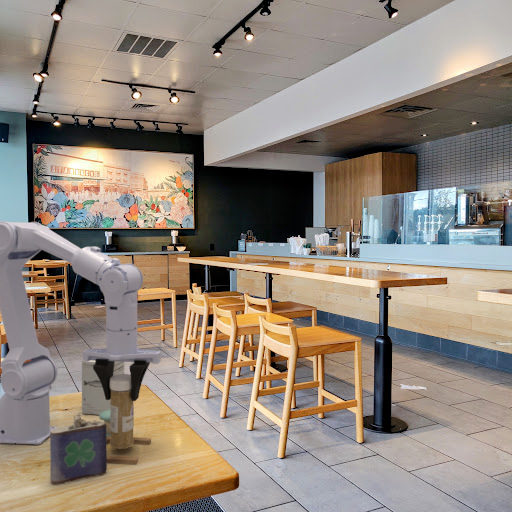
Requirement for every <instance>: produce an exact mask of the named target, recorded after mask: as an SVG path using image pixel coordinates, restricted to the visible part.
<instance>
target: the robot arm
mask: <svg viewBox="0 0 512 512" xmlns="http://www.w3.org/2000/svg"><path fill="white" fill-rule="evenodd" d="M41 251H44V252H45V253H48V254H51V255H52V256H55V257H57V258H59V259H62V260H63V261H65V262H67V263H69V264H71V267H72V270H73V272H74V273H75V274H77V275H79V276H81V277H82V278H84V279H86V280H88V281H90V282H92V283H93V284H95V285H97V286H99V289H100V291H101V293H102V294H103V295H104V303H105V315H106V316H105V317H106V319H105V320H106V321H105V323H106V324H105V325H106V326H105V333H106V334H105V336H106V337H105V341H106V342H105V343H106V344H105V347H106V348H87V349H85V350H83V351H82V360H83V361H90V360H92V361H95V365H93V370H94V371H95V373H96V374H97V376H98V378H99V380H100V382H101V385H102V387H103V391H104V394H105V399H106V400H110V399H111V390H110V378H111V377H112V376H113V372H114V363H115V361H123V362H124V363H125V362H131V363H132V364H130V365H129V372H130V374H129V375H131V383H132V389H131V399H132V401H133V402H136V401H137V400H138V399H139V396H140V390H141V386H142V382H143V380H144V377H145V374H146V372H147V370H148V369H149V366H150V363H152V364H155V365H156V364H159V363H160V362H161V361H162V360H161V359H162V356H161V353H162V351H160V350H149V349H143V348H138V292H139V291H140V289H141V288H142V286H143V283H144V277H143V276H144V275H143V272H142V271H141V270H140V268H139V267H137V266H136V265H135V264H134V263H124V264H122V262H121V260H120V259H119V258H117V257H113V258H112V257H110V256H108V255H106V253H105V254H104V252H103V253H102V252H101V248H100V247H99V246H85V247H83V248H80V246H77V245H76V244H74V243H72V242H70V241H69V240H68V239H66V238H64V236H61V235H59V234H58V233H56V232H54V231H53V230H51V229H50V228H49V226H46V225H42V224H41V223H39V222H37V221H31V222H24V221H23V222H21V221H20V222H18V221H17V222H16V221H13V222H11V221H5V220H1V221H0V314H1V320H2V324H3V329H4V332H5V337H6V341H7V346H8V349H9V351H8V353H7V354H6V355H5V357H4V358H3V360H2V361H1V362H0V368H1V379H0V384H1V389H2V391H3V392H4V394H3V395H1V396H0V444H15V443H16V445H18V444H19V445H22V444H23V445H41V444H42V443H43V442H45V441H47V439H48V438H50V432H51V431H52V430H53V429H56V428H59V426H51V424H50V420H51V419H50V417H51V415H50V412H51V411H50V391H51V390H52V385H53V384H54V383H55V382H56V380H57V376H58V368H57V365H56V363H55V362H54V360H53V359H52V356H51V354H50V351H49V349H48V348H47V347H45V346H44V345H41V344H40V343H39V340H38V336H37V331H36V328H35V327H36V326H35V323H34V319H33V314H32V310H31V306H30V301H29V297H28V292H27V288H26V285H25V281H24V277H23V276H24V275H23V272H22V270H23V268H24V267H25V265H26V264H27V263H28V262H30V260H31V259H32V258H34V257H35V256H36V255H37V254H39V253H40V252H41Z"/></svg>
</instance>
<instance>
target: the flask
mask: <svg viewBox="0 0 512 512" xmlns="http://www.w3.org/2000/svg"><path fill="white" fill-rule="evenodd" d="M73 418H74V419H73V424H70V425H66V426H62V427H61V426H60V427H58V428H56V429H53V430H52V431H51V432H50V436H49V438H50V439H49V440H50V441H49V443H50V444H49V447H50V461H49V462H50V463H49V464H50V480H49V481H50V483H51V485H64V484H65V483H70V482H78V481H80V480H83V479H90V478H95V477H98V476H99V477H100V476H103V475H105V474H107V468H108V463H107V456H108V455H107V453H108V452H107V451H108V450H107V445H106V443H107V442H106V435H107V434H106V428H107V427H106V424H105V422H104V421H103V420H96V419H93V420H88V421H86V420H84V419H83V418H82V413H78V414H76V415H73Z"/></svg>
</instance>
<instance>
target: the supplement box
mask: <svg viewBox="0 0 512 512" xmlns="http://www.w3.org/2000/svg"><path fill="white" fill-rule="evenodd" d="M93 365H95V361H92V360H90V361H83V359H82V361H81V415H85V414H86V415H87V414H88V415H97V416H99V414H100V413H101V412H103V411H106V410H110V403H111V399H110V400H106V399H105V394H104V391H103V387H102V385H101V382H100V380H99V378H98V376H97V374H96V373H95V371H94V370H93ZM118 374H125V362H123V361H115V363H114V372H113V376H114V375H118Z"/></svg>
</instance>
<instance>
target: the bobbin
mask: <svg viewBox="0 0 512 512" xmlns="http://www.w3.org/2000/svg"><path fill="white" fill-rule="evenodd" d="M98 416H99V420H100V421H103V422H105V424H106V427H107V428H106V434H107V435H106V436H111V429H110V410H106V411H103V412H101V413H100V414H99V415H98Z"/></svg>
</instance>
